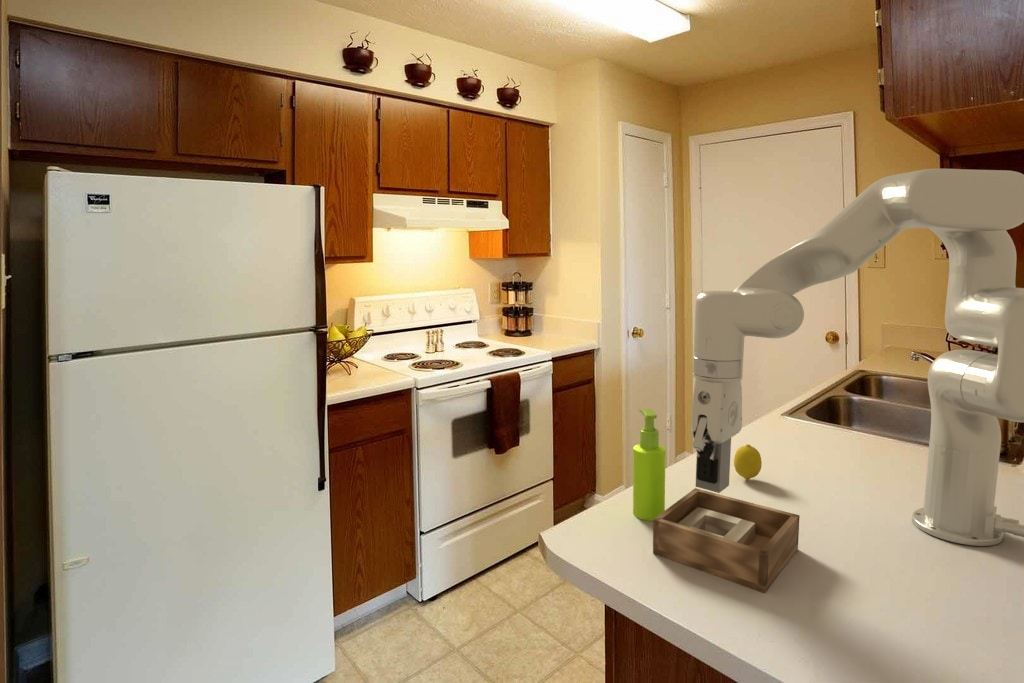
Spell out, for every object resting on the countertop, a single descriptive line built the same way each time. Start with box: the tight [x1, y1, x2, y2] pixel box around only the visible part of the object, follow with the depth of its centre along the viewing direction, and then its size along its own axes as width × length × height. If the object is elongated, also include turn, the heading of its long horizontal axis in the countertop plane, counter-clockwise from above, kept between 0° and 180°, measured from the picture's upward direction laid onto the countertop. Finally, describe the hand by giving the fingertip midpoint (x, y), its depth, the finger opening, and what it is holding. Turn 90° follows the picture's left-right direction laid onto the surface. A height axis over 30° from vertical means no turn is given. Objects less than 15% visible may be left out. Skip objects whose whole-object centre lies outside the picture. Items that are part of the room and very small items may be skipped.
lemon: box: [733, 443, 763, 481], centre depth 124 cm, size 6×6×8 cm
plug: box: [695, 435, 732, 494], centre depth 95 cm, size 4×4×10 cm
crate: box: [652, 487, 801, 594], centre depth 95 cm, size 18×16×6 cm
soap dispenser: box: [632, 408, 666, 522], centre depth 109 cm, size 6×7×20 cm
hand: (712, 475), depth 95 cm, fingers closed on plug, 4 cm apart
